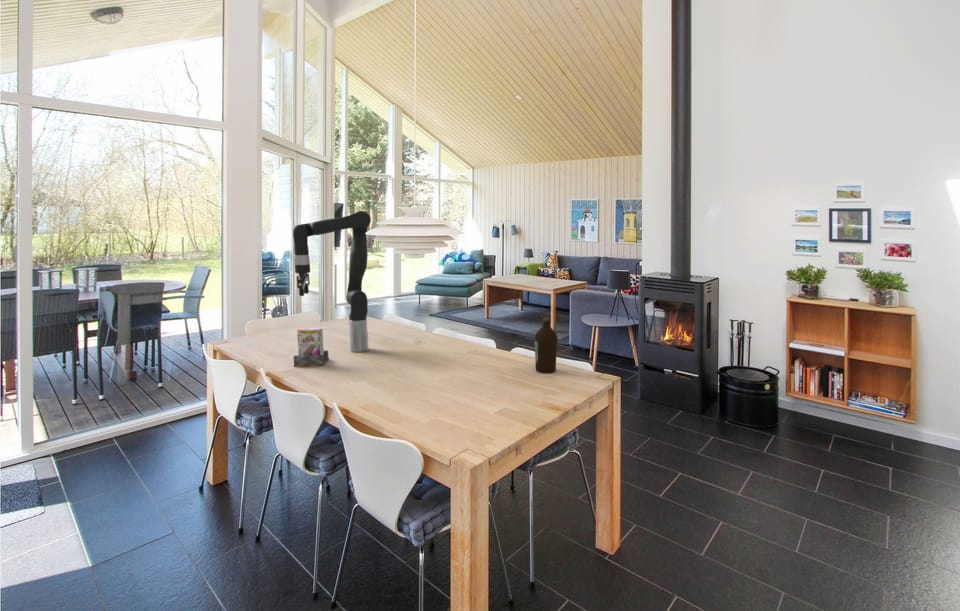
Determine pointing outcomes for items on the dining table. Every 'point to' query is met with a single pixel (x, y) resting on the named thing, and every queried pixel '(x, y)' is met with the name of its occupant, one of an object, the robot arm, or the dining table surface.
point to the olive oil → (545, 348)
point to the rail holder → (311, 360)
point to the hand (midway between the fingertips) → (304, 294)
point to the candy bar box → (310, 341)
